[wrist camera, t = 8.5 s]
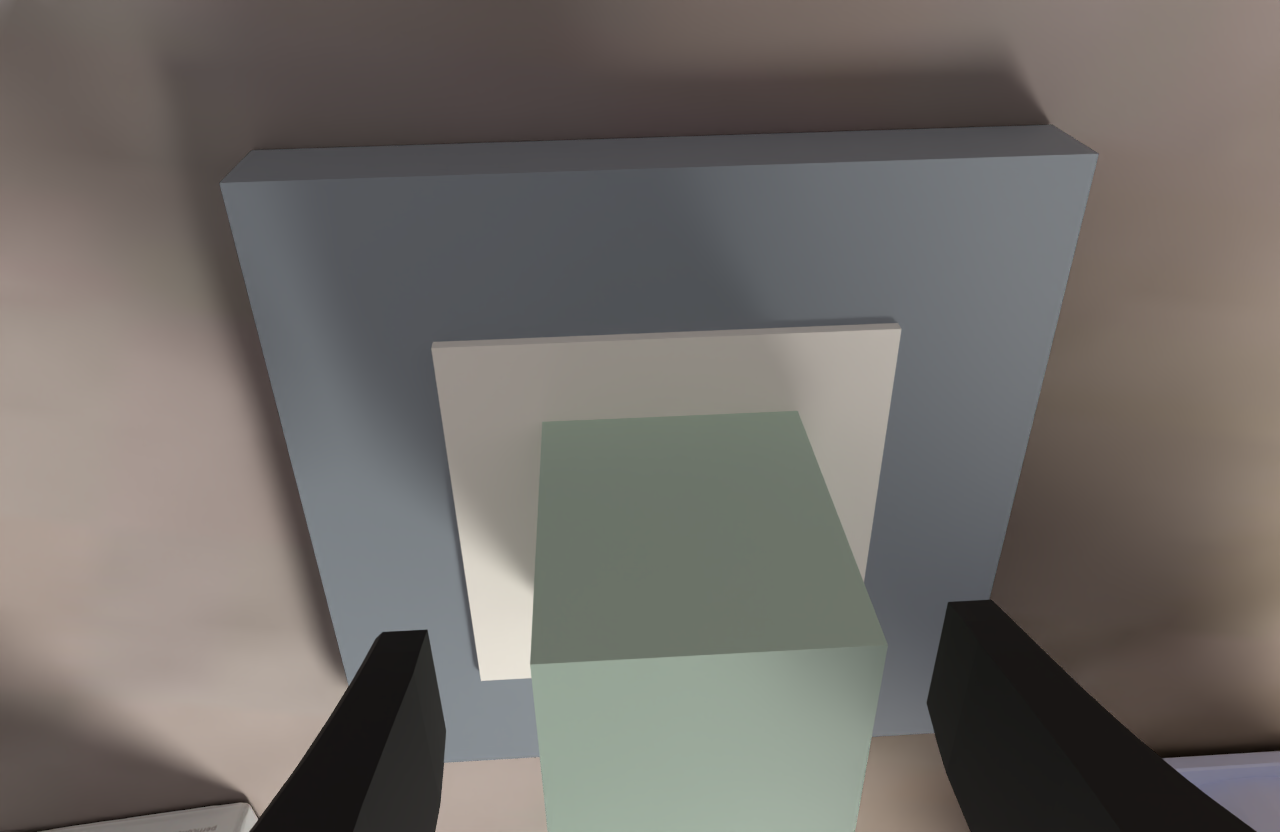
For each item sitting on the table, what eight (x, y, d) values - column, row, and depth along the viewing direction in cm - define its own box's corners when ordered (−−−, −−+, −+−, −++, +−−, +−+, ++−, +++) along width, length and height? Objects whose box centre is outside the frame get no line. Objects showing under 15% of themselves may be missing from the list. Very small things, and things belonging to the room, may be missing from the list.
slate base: (933, 676, 21) (960, 739, 19) (382, 708, 20) (367, 775, 19) (1052, 125, 14) (1105, 157, 13) (251, 149, 14) (214, 187, 12)
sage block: (780, 599, 17) (850, 857, 13) (557, 611, 17) (552, 877, 13) (797, 410, 15) (887, 645, 11) (542, 421, 15) (529, 664, 10)
